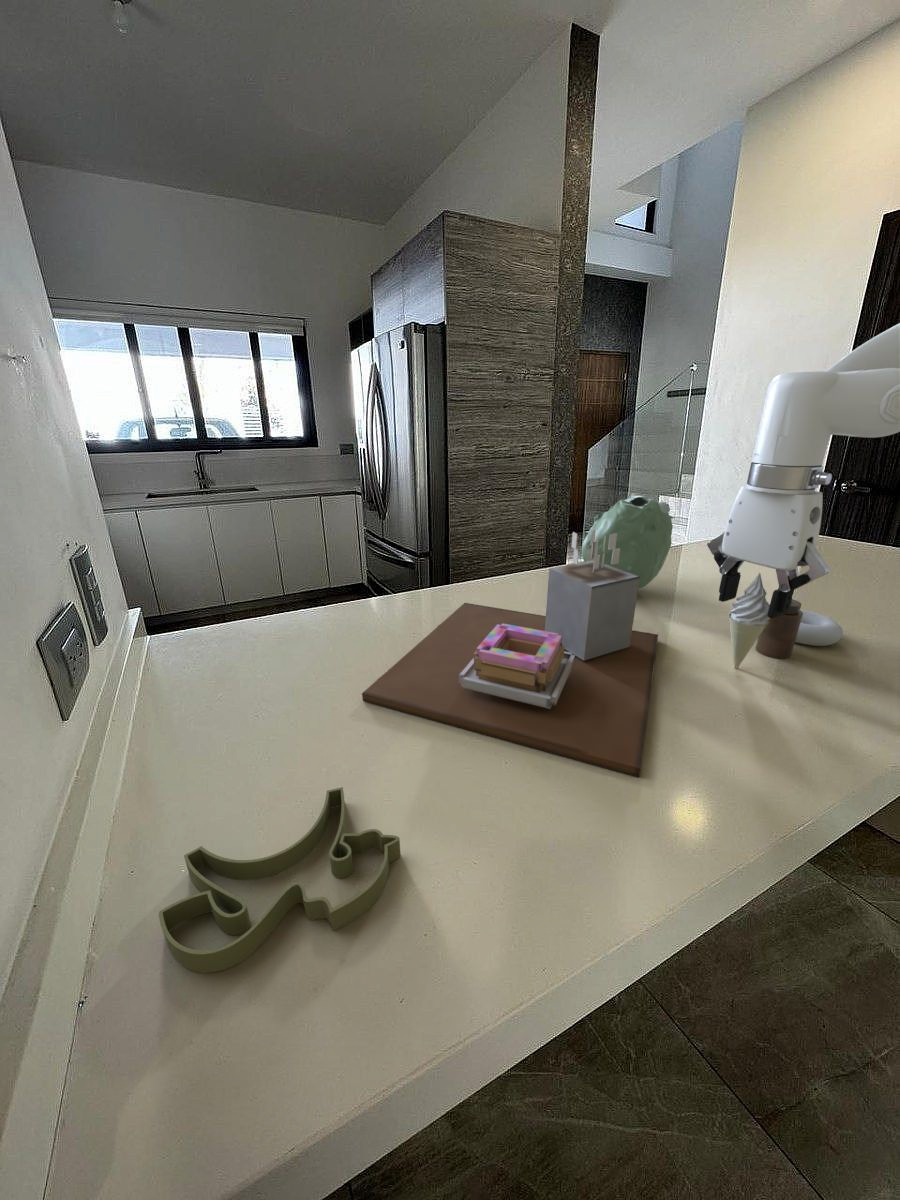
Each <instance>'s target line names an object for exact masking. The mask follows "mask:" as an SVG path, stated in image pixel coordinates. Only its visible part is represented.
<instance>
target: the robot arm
mask: <svg viewBox="0 0 900 1200" xmlns="http://www.w3.org/2000/svg"><path fill="white" fill-rule="evenodd" d="M766 389H767V390H766V394H765V398H764V403H763V407H762V411H761V416H760V420H759V425H758V430H757V434H756V439H755V442H754V443H755V444H754V449H753V452H752V456H751V457H752V458H751V462H750V466H749V471H748V476H747V481H746V485H741V487H740V489H739V491H738V493H737V495H736V497H735V500H734V502H733V504H732V506H731V510H730V512H729V516H728V519H727V522H726V525H725V529H724V531H723V532H721V533H720V534H718V535H717V536H715V537H714V538H712V539H710V540H709V541H707V543H706V546H707V548H708V550H709V551H710V553H711V555H713V560H714V561H715V563H716V564H717V566H718V568H719V569H718V572H719V574H721V579H720V583H719V588H718V593H719V596H718V601H719V602H722V603H724V602H727V601H731V600H735V599H736V598H737V593H738V590H739V586H740V581H741V577H742V574H741V572H739V569H740V568H741V567H742V565H744V563H749V564H753V565H758V566H762V567H765V568H769V569H774V570H775V572H776V578H777V584H778V588H777V589H774V590H773V592H772V595H771V599H770V602H769V605H770V606H769V610H768V614H767V616H768V617H769V618H772V619H774V618H776V617H779V616H782V615H784V613H786V612H788V610H789V608H790V604H791V600H792V599H793V597H794V592H795V591H796V590H797V589H799V588H801V587H804V586H805V585H807V584H809V583H812V582H813V581H815V580H817V579H820V578H821V577H824V576H825V575H827V574H829V573H830V572H831V569H830V566H829V565H828V564H827V563H826V561H825V559H824V558H823V557H822V556H821V554H820V552H819V551H818V550H817V546H818V542H819V535H820V531H821V525H822V516H823V505H824V504H823V503H824V502H823V501H824V499H823V497H824V496H823V493H824V492H821V491H817V490H816V489H818V488H819V486H822V485H825V486H828V485H829V484H830V483H831V481H832V478H833V475H832V473H828V472H825V471H824V466H823V464H824V459H825V457H826V453H827V449H828V445H829V442H830V439H831V436H832V435H835V436H847V437H853V438H854V437H855V438H866V439H867V438H870V439H871V438H872V439H874V438H882V437H888V436H892V435H894V434H897V433H900V322H899V323H897V324H895V325H893V326H892V327H890V328H887V329H886V330H885V331H883V332H880V333H879V334H877V335H876V336H874V337H871V338H870V339H869V340H867V341H865V342H863V343H862V344H861V345H859V346H857V347H856V348H855V349H853V350H852V351H850V352H849V353H848V354H846V355H845V356H844V357H842V358H841V359H839V360H838V361H837V362H835V363H834V364H833V365H831V366H830V367H828V368H827V369H826V370H823V371H821V370H819V371H797V372H796V371H795V372H786V373H782V374H778V375H776V376H775V377H774V378H773V379H772V380H771V381H770V382H769V384H768V387H767V388H766ZM807 566H808V567H809V570H808V571H805V572H804V573H802V574H799V569H798V567H807Z"/></svg>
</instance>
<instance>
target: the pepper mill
mask: <svg viewBox="0 0 900 1200" xmlns="http://www.w3.org/2000/svg"><path fill="white" fill-rule="evenodd" d="M801 609H802V603H801V602H800V601H798V600H797V599H794V598H792V600H791V604H790V608H789V610H788V612H786V613H784V615H782V616H779V617H776V618H774V619H772V618H770V619H769V620H768V622H769V623H768V625H766V626H765V628H764V629H763V631H762V632H761V634H760V635H759V637H758V639H757V640H756V643H755V650H756V652H757V653H759V654H761V655H763V656H765V657H768V658H772V659H777V660H778V659H779V660H784V659H789V658H791V656H792V653H793V651H794V647H795V643H796V642H795V640H796V637H797V633H798V630H799V626H800V623H801V620H802V616H803V612H802V611H800V610H801Z"/></svg>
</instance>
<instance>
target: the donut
mask: <svg viewBox="0 0 900 1200" xmlns="http://www.w3.org/2000/svg"><path fill="white" fill-rule="evenodd" d="M800 611H802V612H803V616H802V620H801V623H800V626H799V630H798V633H797V637H796V640H795V643H797V644H801V645H805V646H812V647H815V646H816V647H825V646H831V645H834V644H836V643H838V642H839V641H840V640H841V639H842V637H843V634H844V633H843V632H844V630H843V628H842V626H841V624H839V623H838V621H836V620H835V619H833V618H832V617H829V616H827V615H825V614H822V613H819V612H814V611H809V610H806V609H805V610H803V609H800Z"/></svg>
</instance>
